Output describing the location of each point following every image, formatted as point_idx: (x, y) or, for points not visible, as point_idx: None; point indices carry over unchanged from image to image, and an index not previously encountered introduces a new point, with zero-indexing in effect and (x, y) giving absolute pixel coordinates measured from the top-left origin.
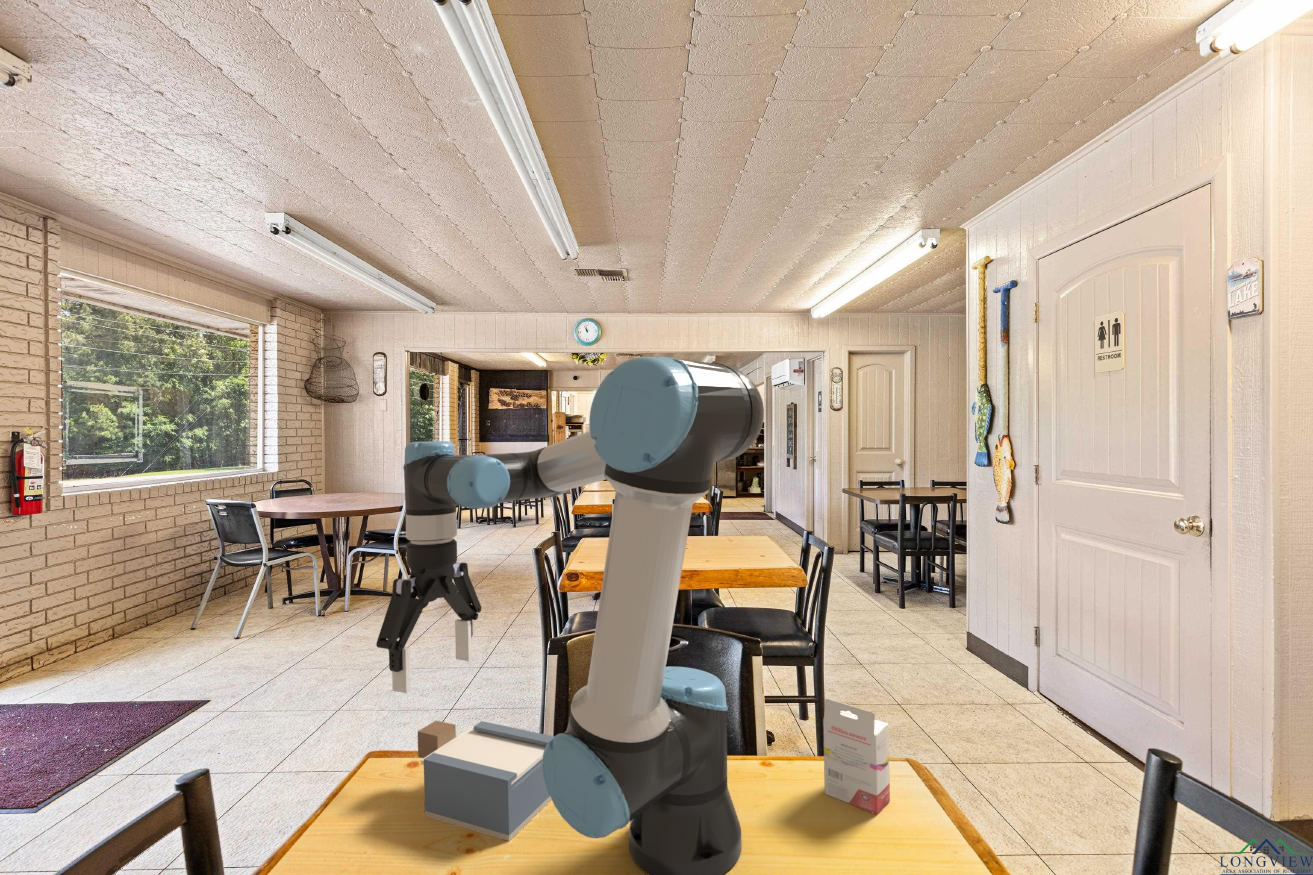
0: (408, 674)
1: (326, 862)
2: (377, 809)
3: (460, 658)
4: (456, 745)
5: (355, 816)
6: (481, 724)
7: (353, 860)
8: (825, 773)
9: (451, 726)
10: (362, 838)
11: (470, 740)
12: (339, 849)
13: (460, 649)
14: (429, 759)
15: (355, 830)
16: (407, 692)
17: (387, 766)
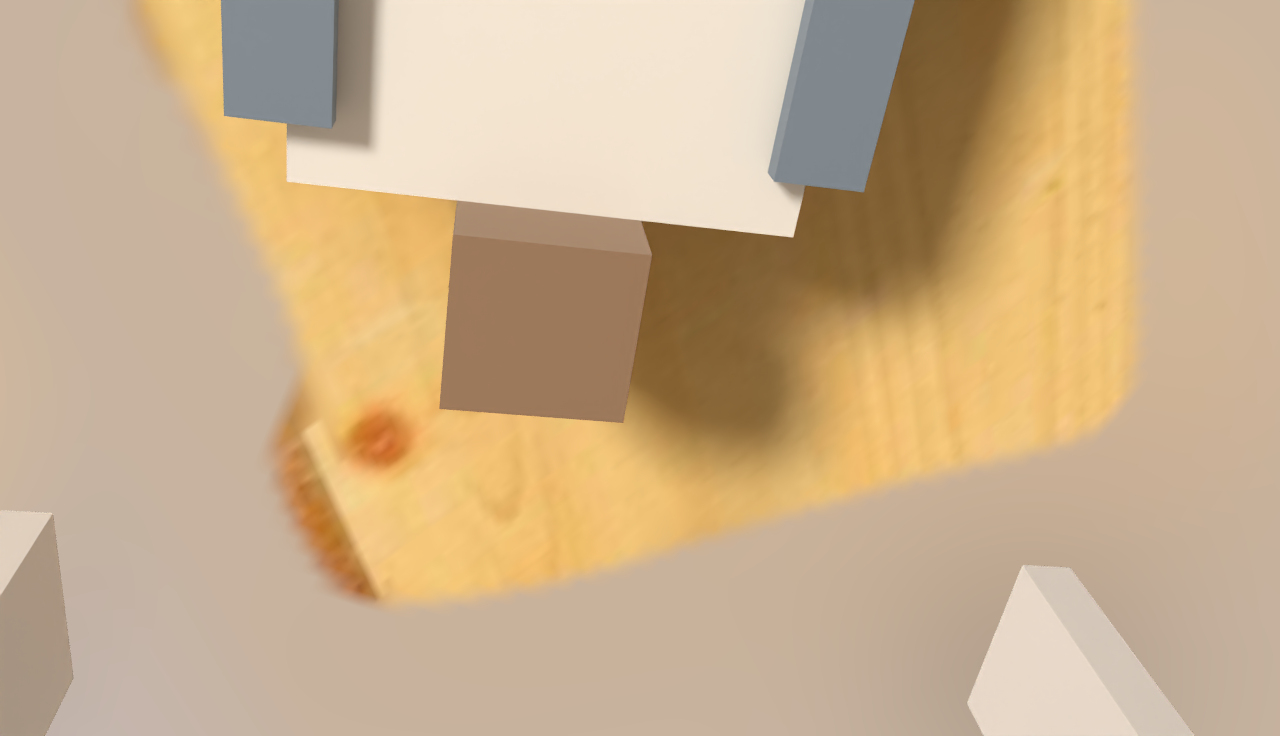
0: (1138, 701)
1: (1117, 289)
2: (764, 344)
3: (60, 632)
4: (564, 122)
5: (827, 394)
6: (276, 83)
7: (1104, 195)
8: None
9: (486, 246)
10: (965, 261)
11: (467, 61)
12: (1039, 299)
13: (8, 722)
14: (860, 151)
15: (917, 327)
16: (1061, 567)
17: (440, 532)
